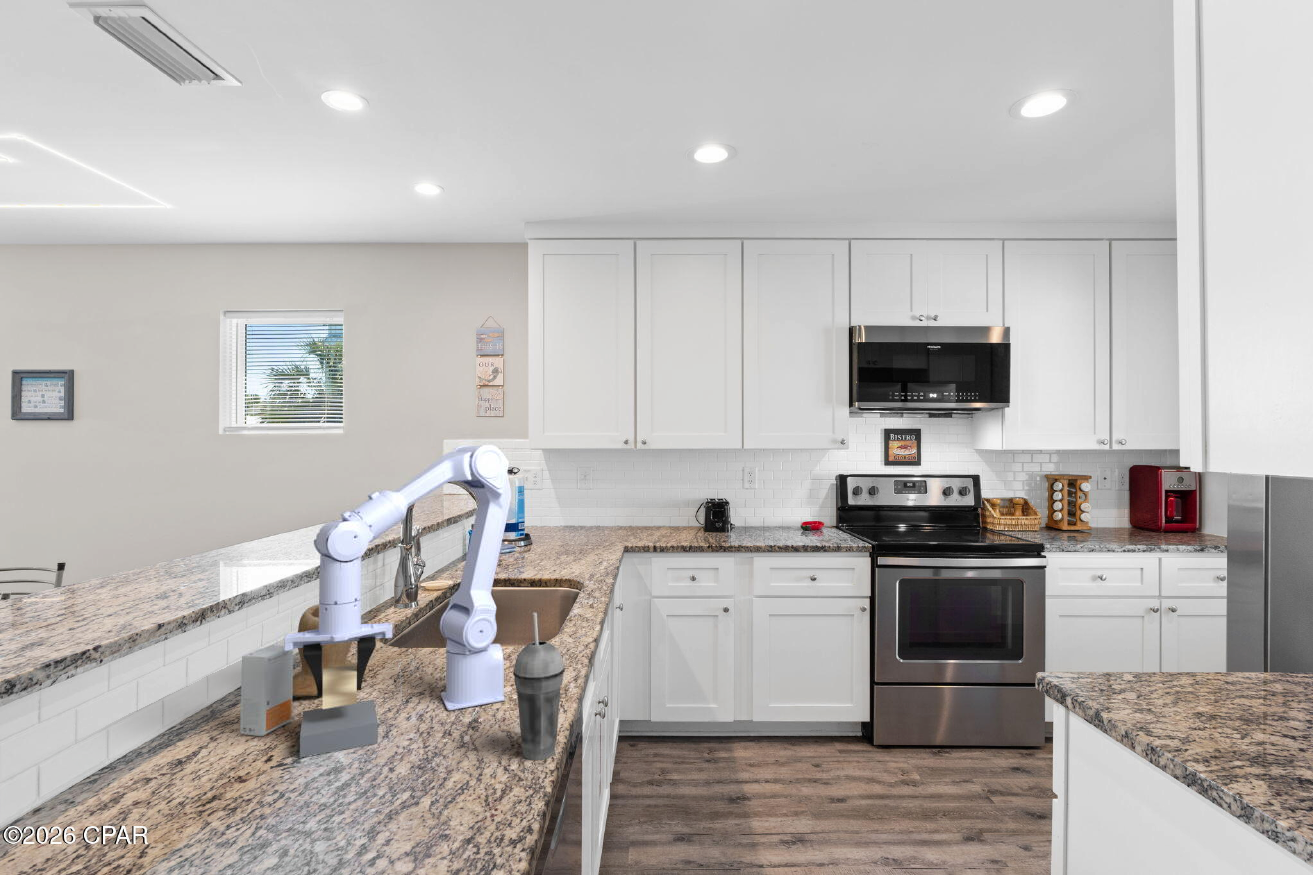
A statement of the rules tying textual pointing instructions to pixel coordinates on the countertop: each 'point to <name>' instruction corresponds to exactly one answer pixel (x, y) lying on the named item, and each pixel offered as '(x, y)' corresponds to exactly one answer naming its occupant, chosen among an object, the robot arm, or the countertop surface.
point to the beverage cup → (538, 696)
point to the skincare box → (266, 690)
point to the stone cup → (330, 656)
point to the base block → (338, 728)
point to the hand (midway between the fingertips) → (339, 691)
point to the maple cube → (339, 686)
